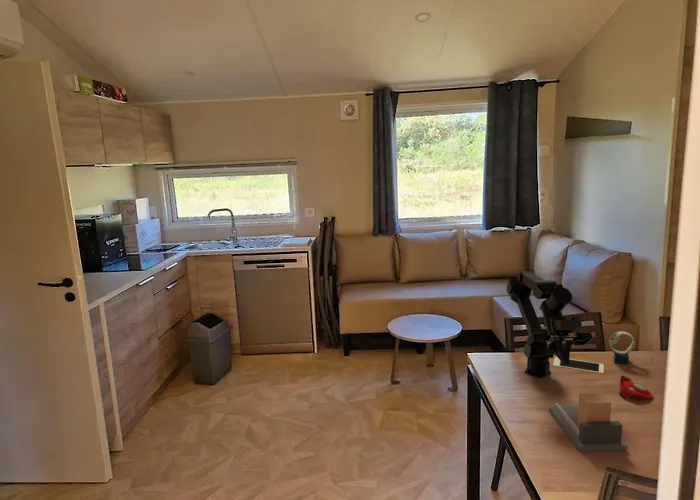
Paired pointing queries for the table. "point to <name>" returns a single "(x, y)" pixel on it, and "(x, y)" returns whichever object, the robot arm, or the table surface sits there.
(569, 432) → the guide track
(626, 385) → the red tape dispenser
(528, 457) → the table surface
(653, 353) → the table surface
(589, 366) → the cell phone
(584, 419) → the brown block
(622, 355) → the watch
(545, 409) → the table surface
